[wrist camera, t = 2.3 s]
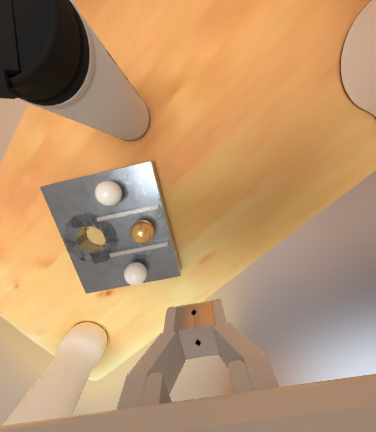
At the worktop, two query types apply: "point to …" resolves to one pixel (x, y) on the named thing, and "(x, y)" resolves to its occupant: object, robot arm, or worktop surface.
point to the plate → (114, 226)
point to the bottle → (63, 376)
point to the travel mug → (66, 68)
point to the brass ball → (142, 232)
